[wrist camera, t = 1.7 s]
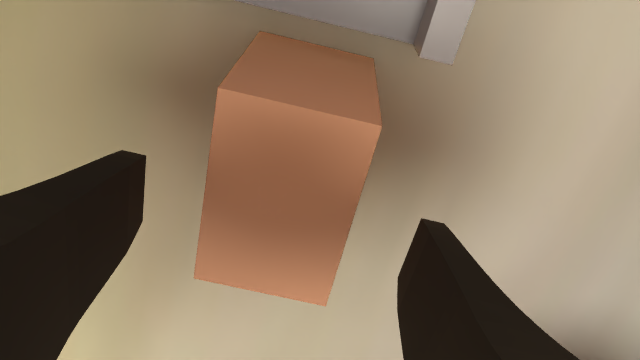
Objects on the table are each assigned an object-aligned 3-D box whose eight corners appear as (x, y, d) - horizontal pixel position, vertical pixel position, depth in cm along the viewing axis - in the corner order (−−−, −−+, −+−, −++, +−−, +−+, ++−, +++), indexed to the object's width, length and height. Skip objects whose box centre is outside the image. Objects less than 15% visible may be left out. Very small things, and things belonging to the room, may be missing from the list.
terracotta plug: (333, 200, 20) (325, 306, 15) (236, 179, 20) (193, 278, 15) (373, 58, 17) (382, 126, 12) (260, 30, 17) (217, 87, 12)
